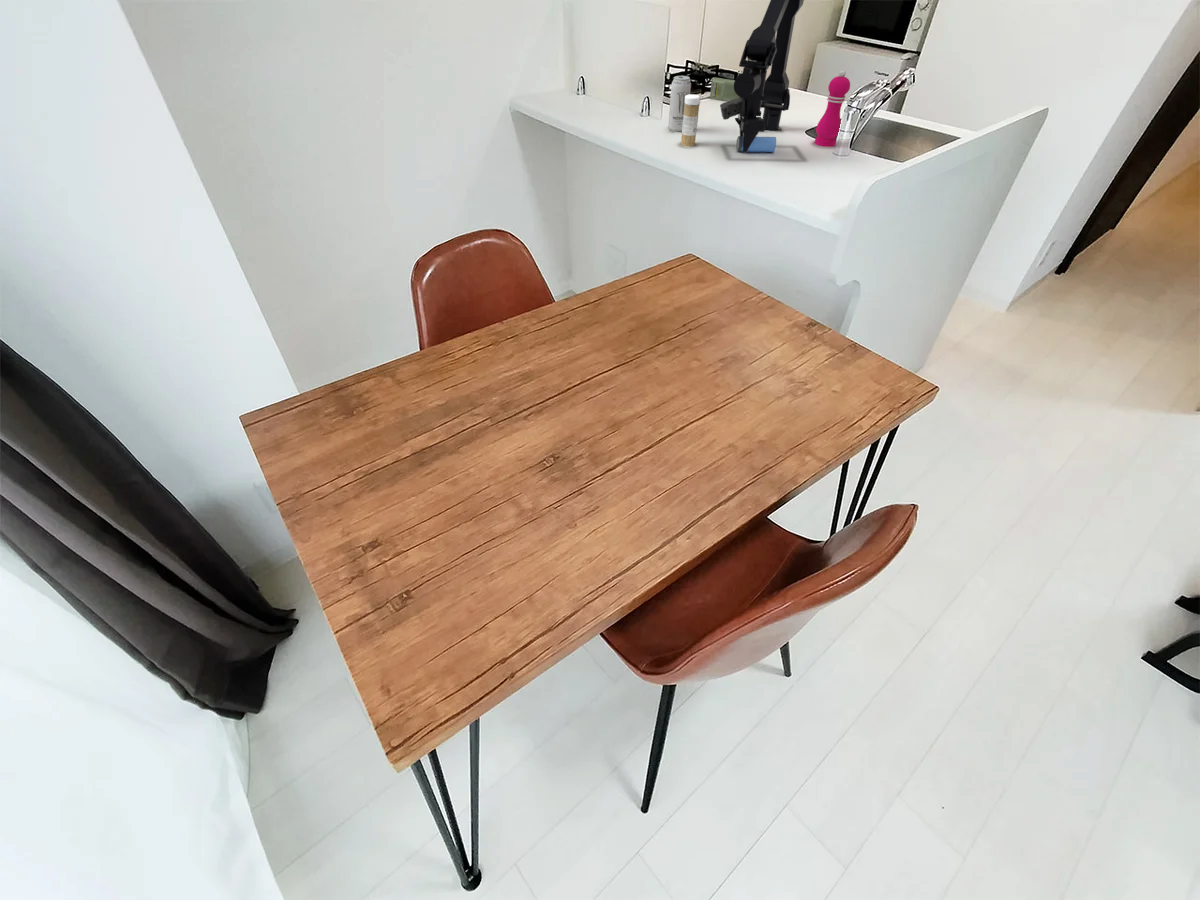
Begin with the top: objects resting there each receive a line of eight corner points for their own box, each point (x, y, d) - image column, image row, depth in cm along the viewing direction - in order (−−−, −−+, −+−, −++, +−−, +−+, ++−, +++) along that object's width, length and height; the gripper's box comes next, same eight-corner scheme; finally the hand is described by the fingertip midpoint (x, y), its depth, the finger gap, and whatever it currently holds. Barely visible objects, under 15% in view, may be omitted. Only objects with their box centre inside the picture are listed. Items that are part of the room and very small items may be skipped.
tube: (735, 149, 181) (737, 134, 179) (771, 149, 181) (774, 135, 179) (737, 153, 178) (739, 138, 176) (774, 154, 178) (777, 139, 176)
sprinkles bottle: (688, 142, 187) (693, 93, 178) (698, 146, 184) (704, 96, 175) (677, 144, 185) (681, 95, 176) (686, 148, 182) (692, 98, 173)
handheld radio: (712, 96, 228) (775, 107, 218) (708, 98, 226) (772, 109, 216) (714, 76, 223) (779, 86, 213) (710, 78, 221) (775, 88, 211)
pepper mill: (834, 141, 189) (853, 67, 176) (838, 149, 184) (858, 73, 170) (810, 140, 190) (828, 67, 176) (814, 147, 184) (832, 72, 171)
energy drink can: (672, 134, 192) (677, 80, 182) (664, 128, 197) (668, 76, 186) (689, 132, 194) (695, 79, 184) (680, 127, 198) (686, 74, 188)
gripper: (720, 81, 175) (712, 138, 186) (729, 97, 162) (720, 158, 173) (758, 81, 176) (748, 139, 186) (771, 98, 162) (759, 159, 173)
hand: (743, 148), depth 179 cm, fingers closed on tube, 4 cm apart
